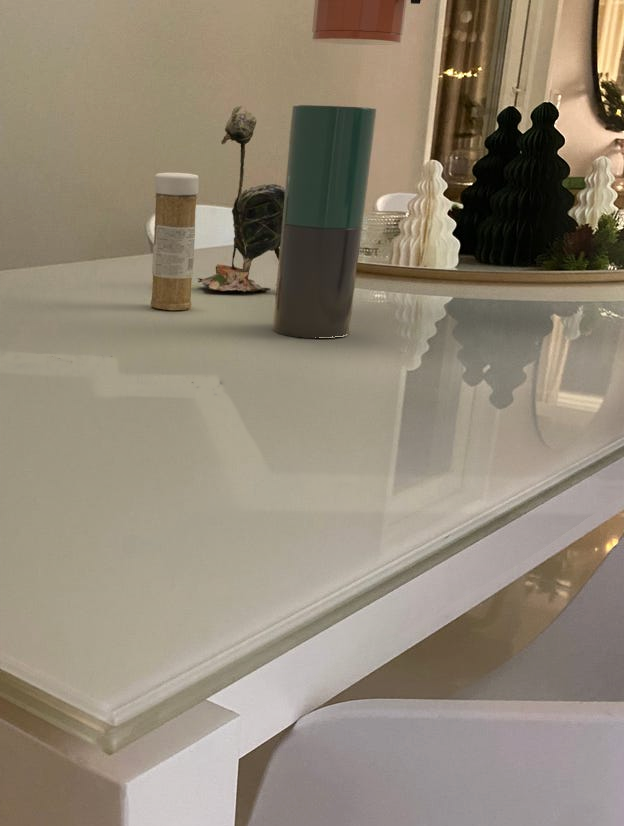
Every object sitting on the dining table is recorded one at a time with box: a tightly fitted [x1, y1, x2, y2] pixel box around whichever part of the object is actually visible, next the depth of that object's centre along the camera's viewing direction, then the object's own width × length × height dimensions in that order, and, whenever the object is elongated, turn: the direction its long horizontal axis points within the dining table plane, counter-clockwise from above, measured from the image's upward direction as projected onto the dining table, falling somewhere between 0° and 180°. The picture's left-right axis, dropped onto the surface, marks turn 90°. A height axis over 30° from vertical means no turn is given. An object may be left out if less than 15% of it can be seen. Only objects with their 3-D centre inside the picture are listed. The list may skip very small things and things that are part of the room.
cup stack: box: [272, 104, 377, 339], centre depth 100 cm, size 8×8×20 cm
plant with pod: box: [196, 105, 285, 293], centre depth 123 cm, size 8×11×20 cm
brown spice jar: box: [150, 172, 200, 311], centre depth 111 cm, size 5×5×13 cm
